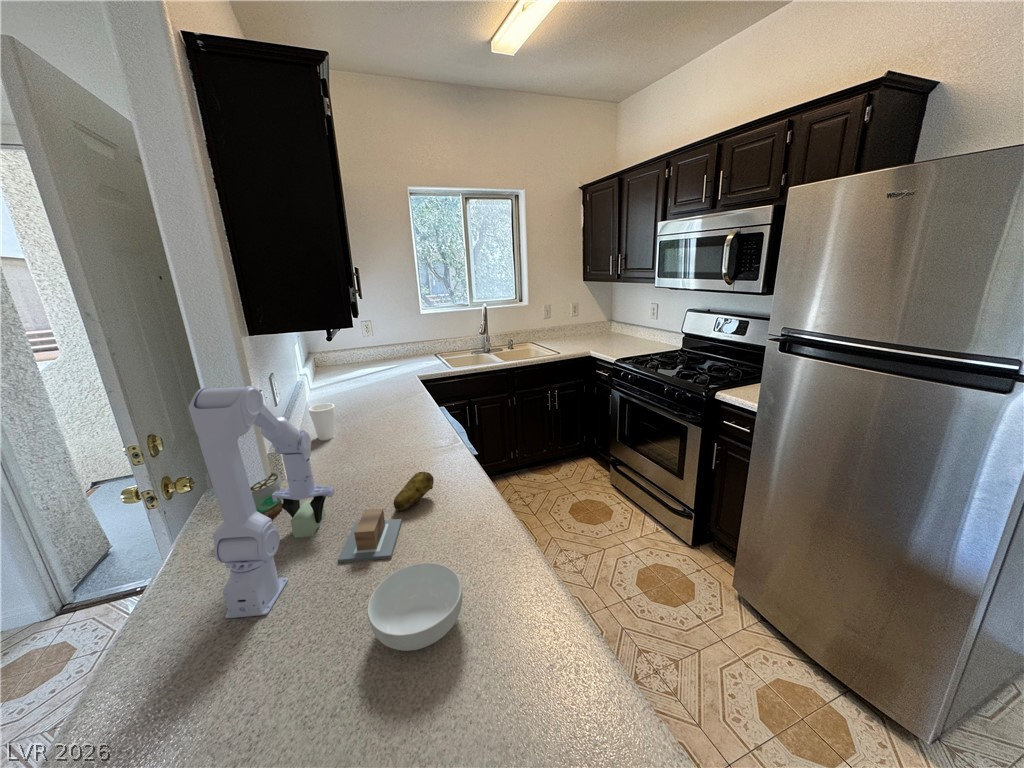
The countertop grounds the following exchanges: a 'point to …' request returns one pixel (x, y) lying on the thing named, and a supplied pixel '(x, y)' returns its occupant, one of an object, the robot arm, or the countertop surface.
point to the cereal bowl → (415, 606)
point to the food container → (267, 496)
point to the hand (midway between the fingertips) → (309, 521)
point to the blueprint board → (382, 551)
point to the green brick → (305, 521)
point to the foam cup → (323, 420)
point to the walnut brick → (370, 529)
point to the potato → (413, 490)
